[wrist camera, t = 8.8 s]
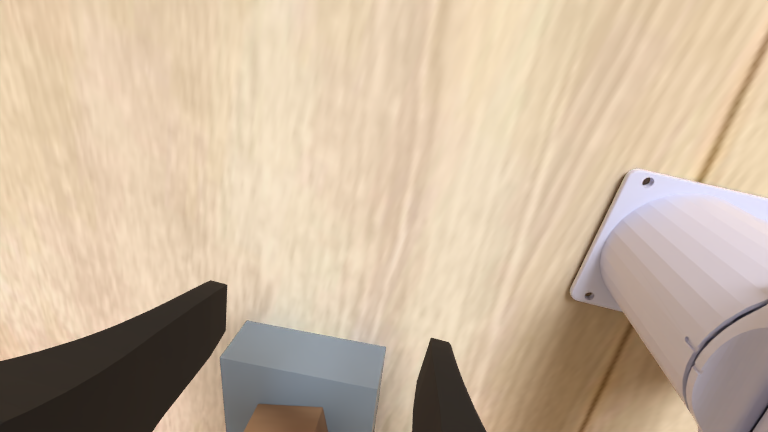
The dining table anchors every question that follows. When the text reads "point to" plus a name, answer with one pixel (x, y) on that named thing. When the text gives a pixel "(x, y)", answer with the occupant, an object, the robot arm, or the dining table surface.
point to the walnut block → (287, 419)
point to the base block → (301, 376)
